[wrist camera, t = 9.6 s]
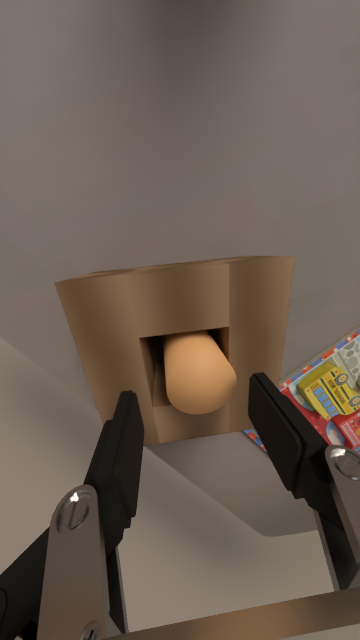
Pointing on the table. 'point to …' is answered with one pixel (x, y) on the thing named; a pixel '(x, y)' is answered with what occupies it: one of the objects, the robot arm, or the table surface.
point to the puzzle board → (328, 393)
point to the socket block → (175, 317)
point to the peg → (196, 372)
